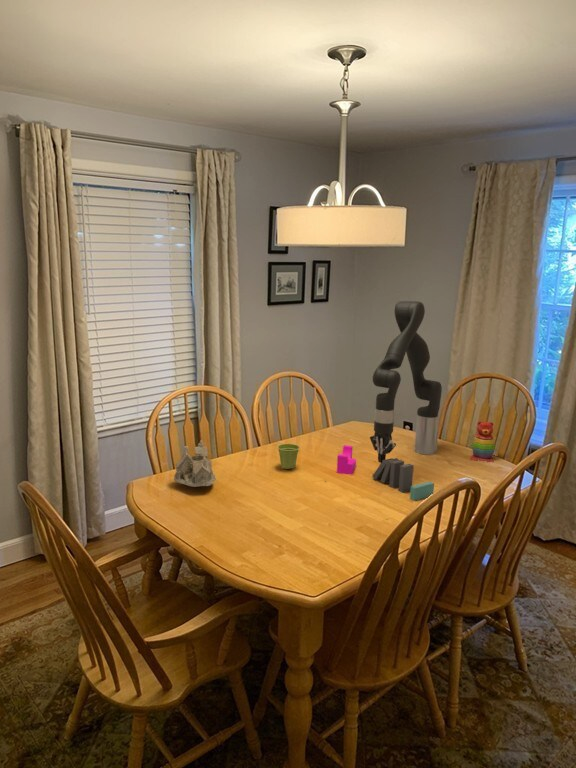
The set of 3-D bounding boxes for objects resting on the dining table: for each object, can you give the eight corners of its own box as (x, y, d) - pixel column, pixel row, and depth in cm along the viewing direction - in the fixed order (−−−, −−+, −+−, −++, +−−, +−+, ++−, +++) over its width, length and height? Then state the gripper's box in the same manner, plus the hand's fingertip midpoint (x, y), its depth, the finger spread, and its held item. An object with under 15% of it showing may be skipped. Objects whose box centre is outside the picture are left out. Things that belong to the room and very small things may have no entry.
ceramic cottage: (176, 474, 223) (175, 438, 220) (217, 475, 224) (217, 438, 221) (169, 489, 208) (168, 450, 205) (213, 490, 209) (213, 451, 206)
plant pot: (273, 468, 233) (273, 448, 231) (282, 461, 241) (282, 442, 240) (294, 472, 229) (294, 451, 228) (302, 464, 238) (303, 445, 236)
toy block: (351, 475, 228) (352, 457, 226) (336, 473, 230) (337, 455, 228) (357, 463, 242) (358, 446, 241) (343, 461, 244) (343, 445, 242)
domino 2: (380, 480, 220) (387, 460, 216) (389, 478, 223) (396, 458, 219) (383, 483, 219) (390, 463, 214) (393, 481, 222) (400, 460, 217)
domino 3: (389, 486, 216) (391, 461, 214) (398, 483, 219) (400, 459, 217) (392, 488, 215) (394, 463, 213) (402, 485, 218) (404, 461, 215)
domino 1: (372, 476, 224) (383, 460, 218) (381, 473, 227) (392, 458, 220) (374, 480, 223) (385, 464, 217) (384, 477, 225) (395, 462, 219)
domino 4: (398, 490, 212) (400, 465, 210) (407, 488, 215) (409, 463, 213) (402, 492, 211) (404, 467, 209) (411, 490, 214) (413, 465, 212)
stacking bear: (468, 462, 246) (472, 423, 243) (469, 455, 256) (473, 418, 252) (494, 466, 243) (499, 426, 239) (495, 459, 252) (499, 420, 248)
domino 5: (429, 494, 210) (409, 499, 205) (430, 481, 209) (410, 486, 204) (433, 495, 209) (413, 501, 203) (434, 483, 208) (414, 488, 202)
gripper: (403, 422, 216) (400, 465, 219) (379, 415, 226) (377, 456, 230) (388, 425, 211) (386, 469, 215) (365, 417, 222) (363, 459, 226)
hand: (381, 462), depth 222 cm, fingers closed
